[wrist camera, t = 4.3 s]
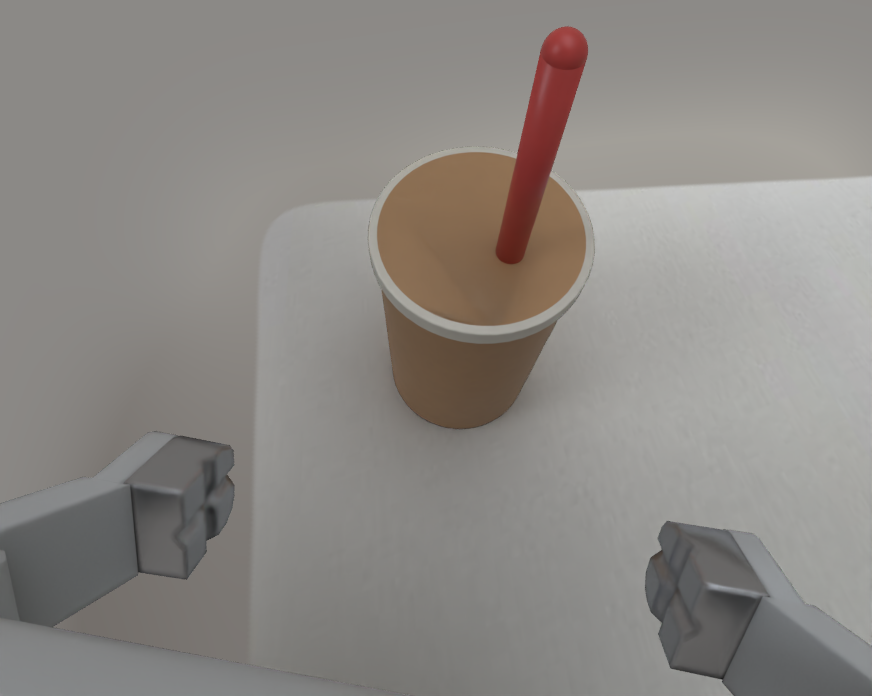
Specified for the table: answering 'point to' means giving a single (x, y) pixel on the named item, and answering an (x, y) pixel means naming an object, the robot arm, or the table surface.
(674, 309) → the table surface
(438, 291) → the paper cup
